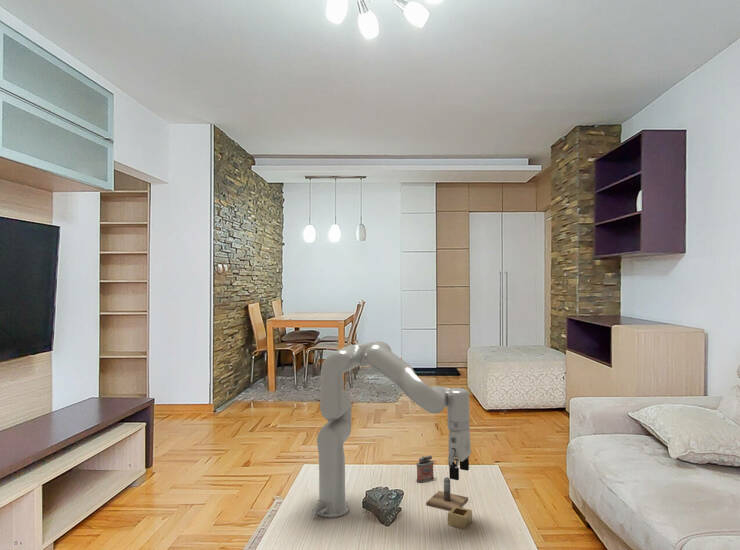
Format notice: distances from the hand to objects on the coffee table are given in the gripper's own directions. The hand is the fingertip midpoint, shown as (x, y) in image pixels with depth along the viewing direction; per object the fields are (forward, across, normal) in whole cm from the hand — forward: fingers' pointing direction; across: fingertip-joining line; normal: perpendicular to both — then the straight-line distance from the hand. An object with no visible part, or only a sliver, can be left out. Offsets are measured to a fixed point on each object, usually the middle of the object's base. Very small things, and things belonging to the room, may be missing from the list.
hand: (459, 474), depth 171 cm
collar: (+17, 0, 0) cm, 17 cm away
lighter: (+17, +28, +26) cm, 42 cm away
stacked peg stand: (+17, +13, +10) cm, 23 cm away
